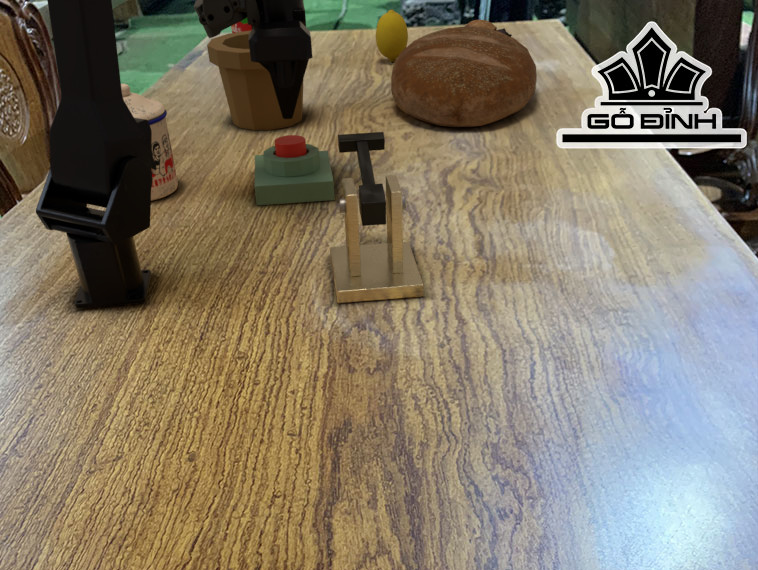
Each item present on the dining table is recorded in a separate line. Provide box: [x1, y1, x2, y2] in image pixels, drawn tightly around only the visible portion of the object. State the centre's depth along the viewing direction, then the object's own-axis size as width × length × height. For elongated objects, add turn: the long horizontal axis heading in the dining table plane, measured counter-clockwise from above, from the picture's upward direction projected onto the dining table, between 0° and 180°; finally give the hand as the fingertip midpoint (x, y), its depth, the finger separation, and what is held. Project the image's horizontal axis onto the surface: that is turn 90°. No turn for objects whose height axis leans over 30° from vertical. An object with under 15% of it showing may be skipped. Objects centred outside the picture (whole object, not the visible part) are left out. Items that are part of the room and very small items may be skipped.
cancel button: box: [274, 134, 307, 158], centre depth 97 cm, size 4×4×2 cm
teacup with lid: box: [121, 83, 179, 202], centre depth 97 cm, size 12×9×12 cm
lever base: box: [329, 174, 424, 304], centre depth 77 cm, size 10×8×9 cm
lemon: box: [375, 9, 409, 63], centre depth 142 cm, size 6×6×8 cm
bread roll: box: [463, 19, 513, 37], centre depth 153 cm, size 11×8×4 cm
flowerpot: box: [206, 18, 304, 131], centre depth 111 cm, size 14×14×30 cm
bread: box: [390, 26, 538, 128], centre depth 125 cm, size 22×37×8 cm, turn 175°
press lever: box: [337, 131, 387, 227], centre depth 78 cm, size 12×4×2 cm, turn 6°
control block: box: [254, 143, 335, 206], centre depth 98 cm, size 11×9×4 cm
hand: (287, 113), depth 94 cm, fingers open, 4 cm apart
